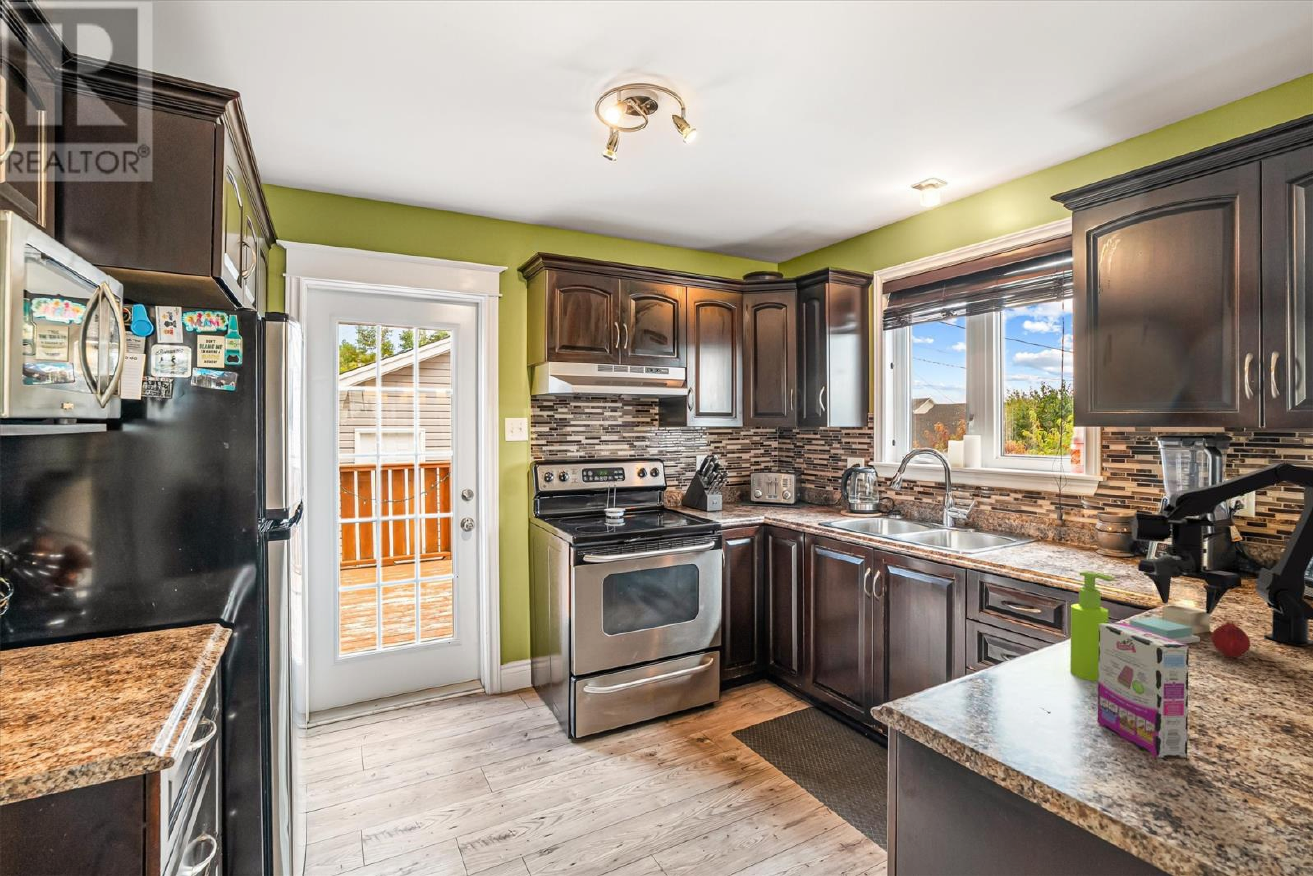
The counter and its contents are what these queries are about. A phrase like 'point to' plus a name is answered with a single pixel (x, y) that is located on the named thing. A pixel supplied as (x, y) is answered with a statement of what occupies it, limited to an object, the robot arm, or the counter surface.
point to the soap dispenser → (1087, 628)
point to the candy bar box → (1144, 689)
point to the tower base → (1166, 629)
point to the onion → (1230, 640)
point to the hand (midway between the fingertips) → (1186, 608)
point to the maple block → (1187, 617)
